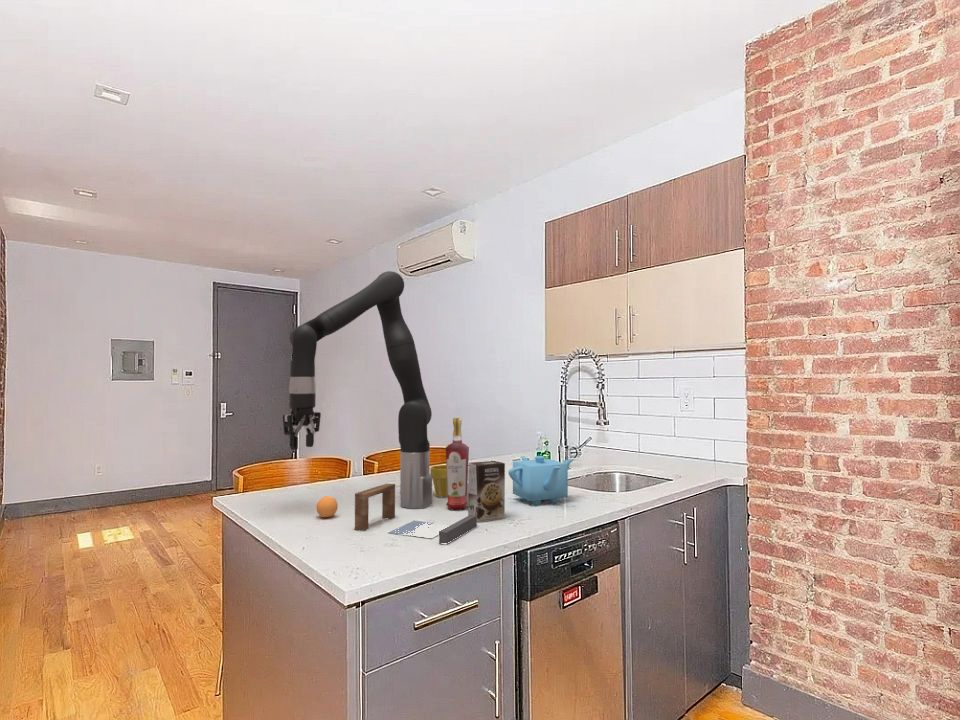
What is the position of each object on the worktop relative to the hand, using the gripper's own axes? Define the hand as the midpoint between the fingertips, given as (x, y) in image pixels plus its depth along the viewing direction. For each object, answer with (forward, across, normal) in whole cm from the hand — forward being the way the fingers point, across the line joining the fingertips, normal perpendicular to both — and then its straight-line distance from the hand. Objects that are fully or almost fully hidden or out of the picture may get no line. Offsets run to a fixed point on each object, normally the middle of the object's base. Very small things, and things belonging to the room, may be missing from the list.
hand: (302, 447), depth 167 cm
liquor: (+20, +25, -40) cm, 51 cm away
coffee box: (+20, +18, -53) cm, 59 cm away
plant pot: (+20, +40, -28) cm, 52 cm away
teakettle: (+20, +46, -60) cm, 79 cm away
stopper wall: (+20, 0, -53) cm, 56 cm away
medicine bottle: (+20, +35, -40) cm, 57 cm away
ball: (+17, 0, -10) cm, 19 cm away
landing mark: (+20, 0, -42) cm, 46 cm away
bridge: (+20, 0, -27) cm, 33 cm away
